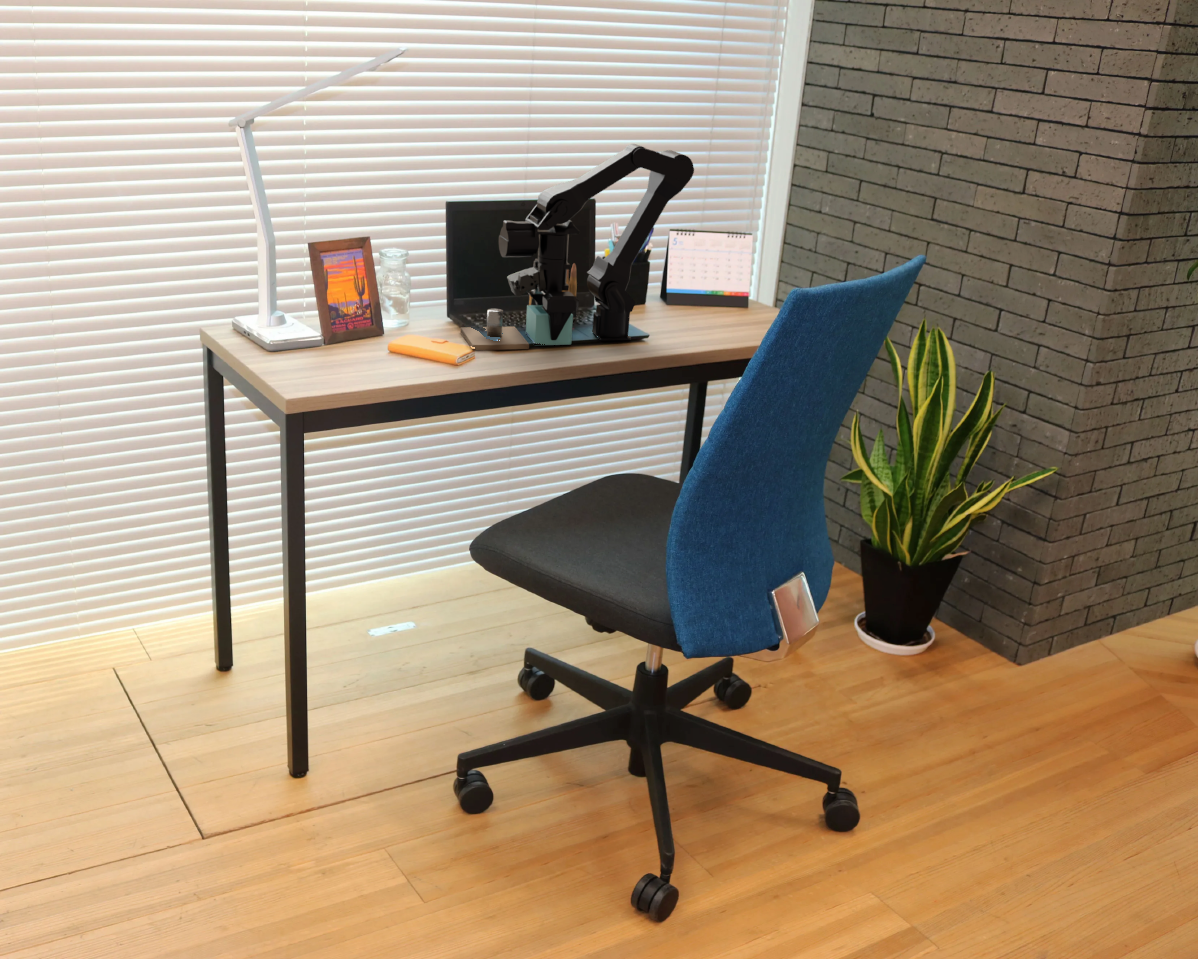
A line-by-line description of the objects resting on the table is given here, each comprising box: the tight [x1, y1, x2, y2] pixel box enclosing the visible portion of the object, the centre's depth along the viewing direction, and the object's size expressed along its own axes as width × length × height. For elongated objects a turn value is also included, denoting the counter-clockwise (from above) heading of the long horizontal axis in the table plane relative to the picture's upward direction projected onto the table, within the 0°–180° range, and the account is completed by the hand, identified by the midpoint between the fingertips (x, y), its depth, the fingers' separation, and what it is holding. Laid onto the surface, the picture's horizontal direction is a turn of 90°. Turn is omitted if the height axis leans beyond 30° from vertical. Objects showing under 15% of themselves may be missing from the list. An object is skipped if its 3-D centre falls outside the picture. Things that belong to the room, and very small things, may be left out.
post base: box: [460, 308, 530, 351], centre depth 224 cm, size 11×12×6 cm
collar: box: [525, 304, 574, 346], centre depth 227 cm, size 7×7×6 cm
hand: (548, 334), depth 228 cm, fingers closed on collar, 7 cm apart
